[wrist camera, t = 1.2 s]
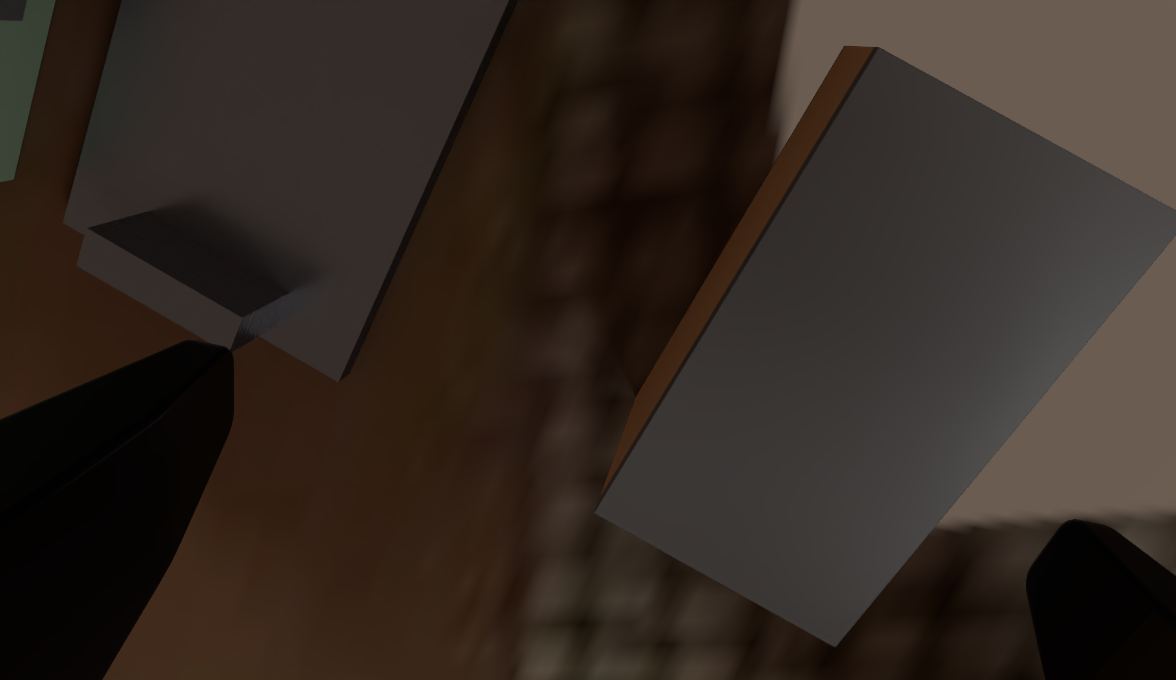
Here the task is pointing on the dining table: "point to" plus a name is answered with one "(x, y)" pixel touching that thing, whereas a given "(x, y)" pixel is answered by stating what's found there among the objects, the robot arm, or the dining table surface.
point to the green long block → (19, 71)
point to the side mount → (273, 159)
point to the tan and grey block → (871, 340)
